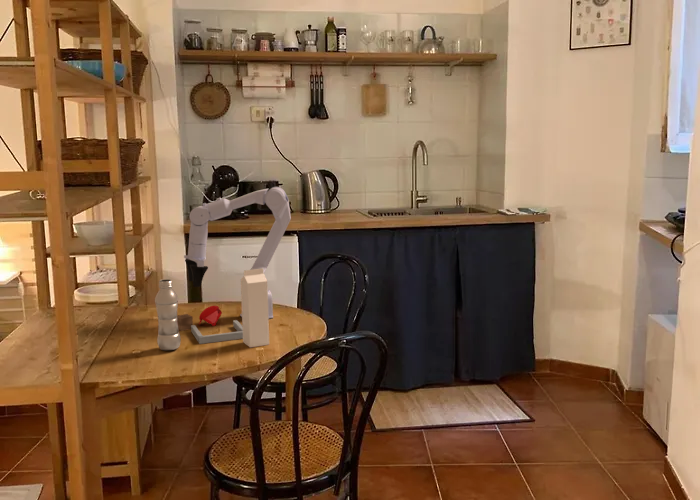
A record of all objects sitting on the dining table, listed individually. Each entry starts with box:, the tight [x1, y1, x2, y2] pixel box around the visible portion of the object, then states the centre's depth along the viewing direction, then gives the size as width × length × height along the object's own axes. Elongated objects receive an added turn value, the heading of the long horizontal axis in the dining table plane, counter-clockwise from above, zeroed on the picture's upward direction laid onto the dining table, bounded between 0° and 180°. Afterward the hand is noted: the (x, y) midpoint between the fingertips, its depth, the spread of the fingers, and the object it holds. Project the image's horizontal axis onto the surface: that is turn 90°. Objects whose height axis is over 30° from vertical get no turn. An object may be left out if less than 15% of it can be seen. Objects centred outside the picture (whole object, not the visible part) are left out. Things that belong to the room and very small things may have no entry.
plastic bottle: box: [154, 278, 181, 351], centre depth 194 cm, size 6×7×20 cm
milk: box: [240, 269, 270, 348], centre depth 199 cm, size 6×6×22 cm
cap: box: [198, 305, 223, 327], centre depth 221 cm, size 8×6×6 cm
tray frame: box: [190, 319, 243, 345], centre depth 209 cm, size 14×14×2 cm
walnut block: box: [177, 313, 194, 332], centre depth 217 cm, size 4×4×4 cm
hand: (194, 283), depth 226 cm, fingers open, 7 cm apart
